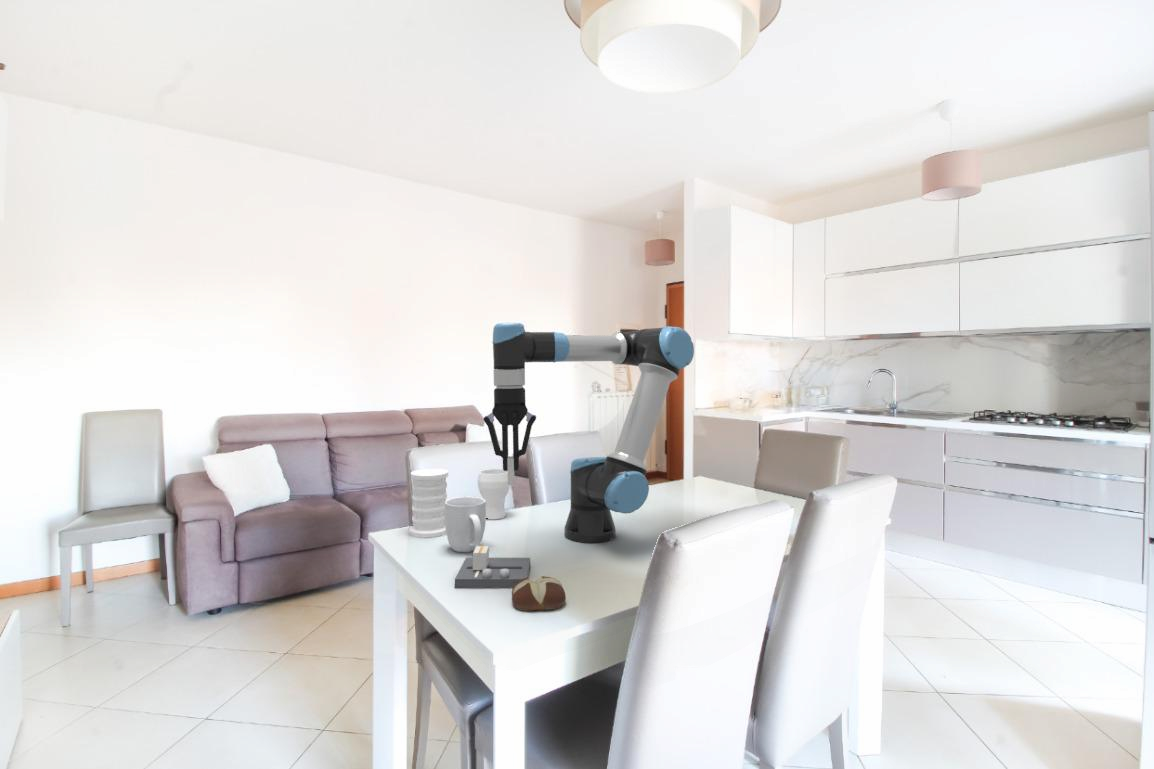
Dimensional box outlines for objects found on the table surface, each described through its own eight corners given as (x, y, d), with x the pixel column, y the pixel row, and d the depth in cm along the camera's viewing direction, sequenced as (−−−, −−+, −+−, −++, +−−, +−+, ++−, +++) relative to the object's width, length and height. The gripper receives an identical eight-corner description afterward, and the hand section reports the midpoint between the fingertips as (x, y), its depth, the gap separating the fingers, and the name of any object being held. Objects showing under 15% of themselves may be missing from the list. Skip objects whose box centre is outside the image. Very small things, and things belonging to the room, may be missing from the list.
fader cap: (488, 562, 133) (488, 545, 133) (485, 570, 128) (485, 552, 128) (476, 562, 133) (476, 545, 133) (472, 569, 128) (472, 552, 128)
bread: (566, 612, 112) (566, 588, 112) (510, 613, 112) (510, 589, 111) (563, 590, 123) (563, 568, 123) (512, 591, 123) (512, 569, 122)
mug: (498, 554, 146) (498, 505, 145) (458, 562, 140) (458, 511, 139) (476, 539, 158) (476, 494, 158) (438, 546, 152) (438, 499, 152)
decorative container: (418, 540, 157) (418, 477, 157) (403, 530, 166) (403, 471, 166) (456, 532, 164) (456, 472, 164) (439, 524, 174) (439, 467, 173)
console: (530, 565, 138) (530, 551, 138) (526, 588, 124) (526, 572, 124) (466, 565, 138) (466, 551, 138) (454, 587, 124) (454, 572, 124)
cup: (473, 520, 178) (473, 473, 178) (483, 511, 189) (484, 468, 188) (504, 521, 177) (504, 475, 176) (513, 513, 187) (514, 469, 187)
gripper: (536, 386, 137) (538, 479, 139) (484, 386, 137) (486, 481, 138) (536, 387, 130) (537, 486, 131) (480, 388, 129) (482, 488, 130)
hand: (511, 483), depth 134 cm, fingers closed
